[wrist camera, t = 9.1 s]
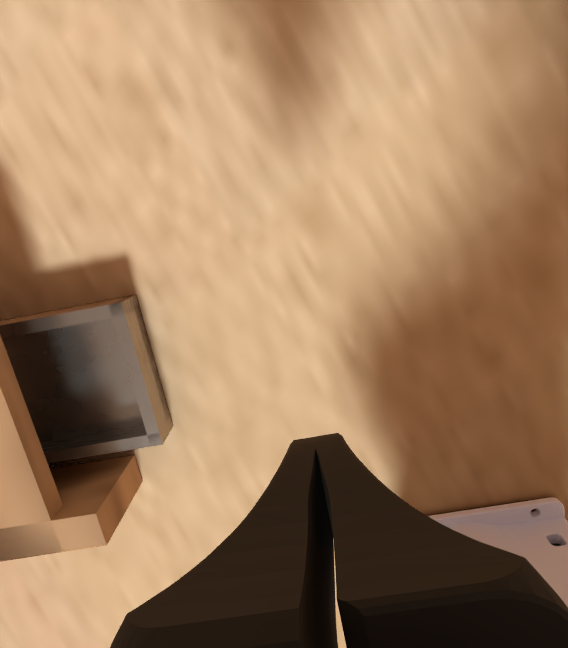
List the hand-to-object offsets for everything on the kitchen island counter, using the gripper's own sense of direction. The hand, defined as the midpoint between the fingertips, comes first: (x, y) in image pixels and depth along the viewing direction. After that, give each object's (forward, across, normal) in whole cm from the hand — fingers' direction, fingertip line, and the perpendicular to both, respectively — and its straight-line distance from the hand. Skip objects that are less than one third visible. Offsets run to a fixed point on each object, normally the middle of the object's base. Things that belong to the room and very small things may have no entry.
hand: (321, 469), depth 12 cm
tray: (+10, +13, -1) cm, 16 cm away
